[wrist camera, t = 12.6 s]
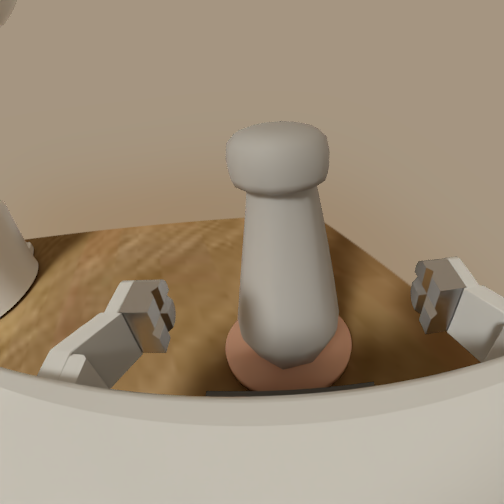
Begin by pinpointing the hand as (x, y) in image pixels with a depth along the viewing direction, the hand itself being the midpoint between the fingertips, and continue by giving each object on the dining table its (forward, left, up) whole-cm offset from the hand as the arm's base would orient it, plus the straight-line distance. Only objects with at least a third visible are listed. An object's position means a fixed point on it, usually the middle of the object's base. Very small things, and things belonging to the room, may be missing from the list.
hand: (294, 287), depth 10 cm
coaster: (0, +6, -10) cm, 11 cm away
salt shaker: (0, +5, -9) cm, 11 cm away
